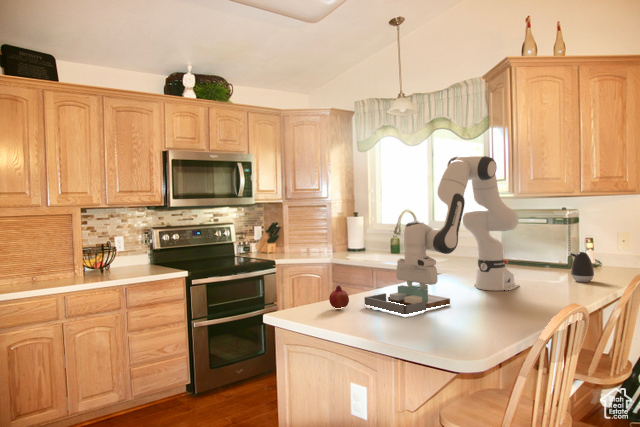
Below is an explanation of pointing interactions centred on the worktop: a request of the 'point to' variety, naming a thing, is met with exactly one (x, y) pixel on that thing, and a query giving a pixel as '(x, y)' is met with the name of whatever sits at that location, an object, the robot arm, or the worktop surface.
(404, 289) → the scraper
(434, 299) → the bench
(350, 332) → the worktop surface
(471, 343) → the worktop surface
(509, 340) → the worktop surface
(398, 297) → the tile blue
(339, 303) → the fruit
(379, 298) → the tray
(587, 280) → the pump dispenser
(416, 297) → the tile cream
